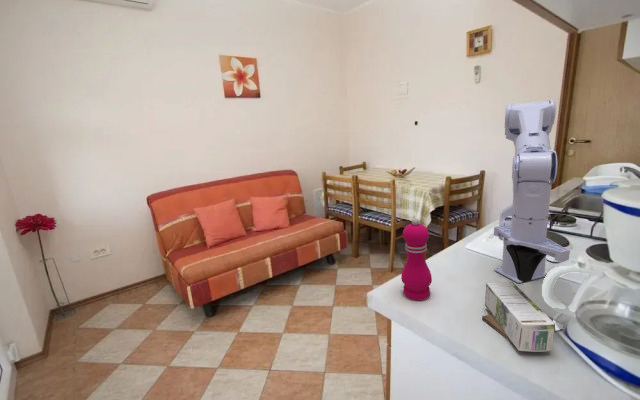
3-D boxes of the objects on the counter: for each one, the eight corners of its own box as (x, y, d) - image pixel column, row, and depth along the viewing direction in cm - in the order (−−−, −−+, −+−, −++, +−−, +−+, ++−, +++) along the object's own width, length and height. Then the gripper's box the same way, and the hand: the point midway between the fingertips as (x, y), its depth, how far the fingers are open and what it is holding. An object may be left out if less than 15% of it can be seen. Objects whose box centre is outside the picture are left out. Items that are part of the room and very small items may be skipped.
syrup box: (510, 304, 68) (554, 352, 54) (483, 305, 68) (519, 352, 54) (512, 281, 66) (558, 324, 52) (484, 282, 67) (522, 325, 53)
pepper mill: (428, 304, 72) (428, 224, 67) (398, 298, 75) (396, 221, 70) (434, 289, 78) (434, 214, 73) (405, 284, 81) (403, 212, 76)
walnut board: (527, 306, 68) (527, 303, 67) (563, 329, 60) (564, 325, 60) (482, 319, 65) (482, 316, 65) (514, 344, 57) (514, 340, 57)
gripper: (483, 209, 64) (480, 268, 67) (549, 230, 50) (542, 303, 54) (510, 204, 65) (506, 262, 69) (582, 223, 52) (573, 294, 55)
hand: (524, 279), depth 61 cm, fingers closed
